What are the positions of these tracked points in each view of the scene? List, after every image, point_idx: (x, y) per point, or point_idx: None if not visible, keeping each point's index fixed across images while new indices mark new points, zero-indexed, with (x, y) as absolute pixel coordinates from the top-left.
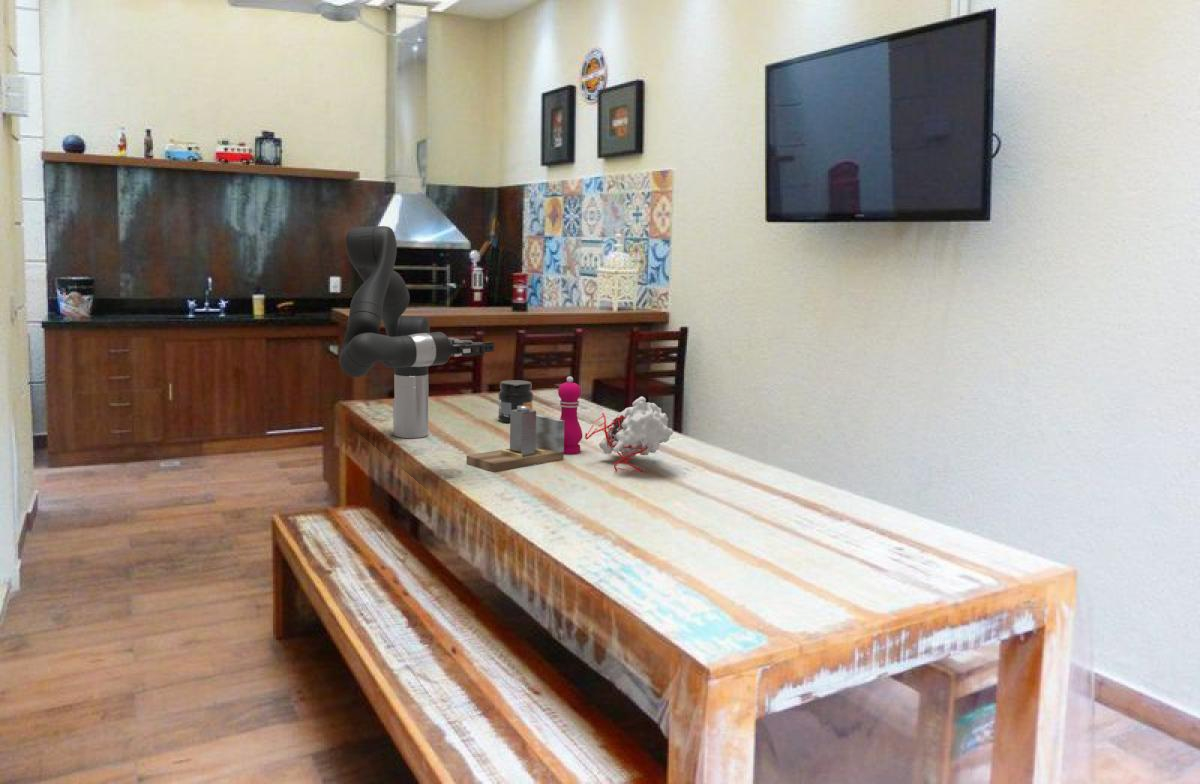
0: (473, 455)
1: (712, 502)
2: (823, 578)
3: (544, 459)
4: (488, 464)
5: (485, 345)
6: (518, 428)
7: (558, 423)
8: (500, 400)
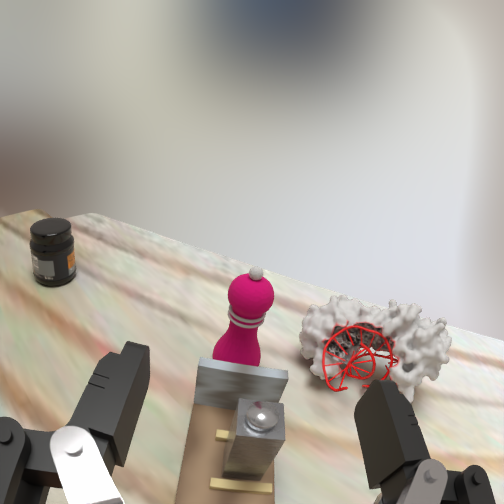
0: None
1: (495, 411)
2: None
3: None
4: None
5: (425, 450)
6: (262, 457)
7: (283, 382)
8: (35, 257)
